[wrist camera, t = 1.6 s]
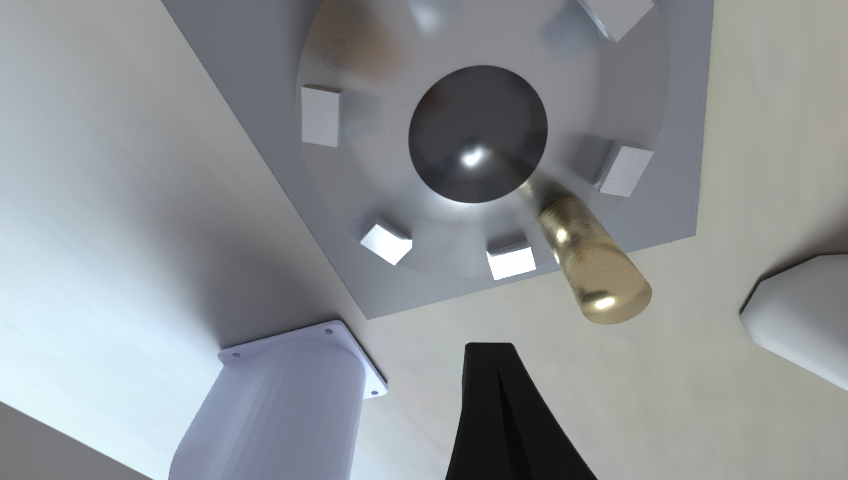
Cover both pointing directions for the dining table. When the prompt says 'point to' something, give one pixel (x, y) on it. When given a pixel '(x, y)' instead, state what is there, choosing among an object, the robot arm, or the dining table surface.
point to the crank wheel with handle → (487, 133)
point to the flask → (805, 316)
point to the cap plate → (354, 263)
